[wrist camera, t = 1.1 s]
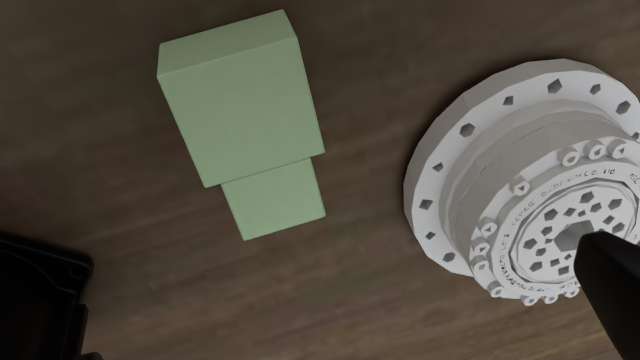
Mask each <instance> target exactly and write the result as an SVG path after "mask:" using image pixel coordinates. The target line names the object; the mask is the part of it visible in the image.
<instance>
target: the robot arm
mask: <svg viewBox="0 0 640 360" xmlns="http://www.w3.org/2000/svg"><path fill="white" fill-rule="evenodd" d="M76 267H79V268H83V270H77V269H75V268H76ZM93 268H94V263H93V261H92V260H91V259H90V258H88V257H86V256H83V255H79V254H76V253H72V252H69V251H65V250H61V249H58V248H54V247H50V246H47V245H43V244H40V243H36V242H32V241H29V240H25V239H21V238H18V237H14V236H10V235H7V234H3V233H0V360H103V358H102V356H101V355H100V354H99V353H97V352H91V353H87V354H83V355H81V350H82V345H83V339H84V334H85V328H86V323H87V317H88V312H89V310H88V308H87V307H86V305H85V304H81V303H78V301H79V299H80V297H81V295H82V293H83V291H84V290H85V288H86V286H87V284H88V282H89V280H90V278H91V277H92V273H93ZM573 269H574V273H575V276H576V278H577V280H578V282H579V284H580V285H581V287H582V289H583V291H584V293H585V295H586V296H587V298H588V300H589V302H590V304H591V306H592V307H593V309H594V311H595V313H596V315H597V316H598V318H599V320H600V322H601V324H602V326H603V327H604V329H605V331H606V333H607V335H608V336H609V338H610V340H611V341H612V343H613V345H614V346H615V348H616V349H617V351H618V352H619V354H620V356H621V357H622V359H623V360H640V246H638V245H636V244H633V243H631V242H629V241H627V240H625V239H623V238H620V237H618V236H616V235H614V234H612V233H610V232H607V231H604V230H599V231H594V232H590V233H586V234H583V235H582V236H581V237H580V239H579V242H578V246H577V250H576V255H575V259H574V263H573Z"/></svg>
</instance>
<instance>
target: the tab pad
mask: <svg viewBox="0 0 640 360" xmlns="http://www.w3.org/2000/svg"><path fill="white" fill-rule="evenodd" d="M157 79H158V81H159V84H160V86H161V88H162V91H163V93H164V95H165V98H166V100H167V102H168V104H169V107H170V109H171V111H172V114H173V116H174V118H175V121H176V123H177V125H178V128H179V130H180V132H181V134H182V137H183V139H184V141H185V144H186V146H187V148H188V151H189V153H190V155H191V157H192V160H193V162H194V164H195V167H196V169H197V171H198V174H199V176H200V178H201V181H202V183H203V185H204V187H205V188H207V187H210V186H214V185H217V184H221V187H222V189H223V192H224V194H225V197H226V199H227V202H228V204H229V207H230V209H231V211H232V214H233V216H234V219H235V221H236V224H237V226H238V229H239V231H240V233H241V236H242V238H243V240H244V241H246V240H249V239H253V238H256V237H259V236H263V235H266V234H269V233H272V232H276V231H279V230H282V229H286V228H289V227H292V226H296V225H299V224H302V223H306V222H309V221H312V220H316V219H319V218H322V217H325V215H326V213H325V210H324V206H323V202H322V198H321V195H320V191H319V187H318V184H317V180H316V176H315V172H314V169H313V165H312V161H311V158H310V157H312V156H315V155H318V154H322V153H324V152H325V149H324V145H323V141H322V137H321V133H320V129H319V125H318V120H317V116H316V112H315V108H314V104H313V100H312V96H311V92H310V88H309V84H308V80H307V76H306V72H305V68H304V63H303V59H302V55H301V51H300V47H299V43H298V39H297V36H296V34H295V32H294V30H293V28H292V26H291V24H290V22H289V20H288V18H287V16H286V14H285V11H284V10H283V9H281V10H277V11H274V12H270V13H267V14H263V15H260V16H256V17H253V18H249V19H246V20H242V21H238V22H235V23H231V24H228V25H224V26H221V27H217V28H214V29H210V30H207V31H203V32H200V33H196V34H193V35H189V36H185V37H182V38H178V39H175V40H171V41H168V42H164V43H161V44H160V47H159V58H158V69H157Z"/></svg>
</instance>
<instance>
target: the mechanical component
mask: <svg viewBox="0 0 640 360" xmlns="http://www.w3.org/2000/svg"><path fill="white" fill-rule="evenodd" d="M403 187H404V213H405V215H406V217H407V219H408V222H409V224H410V226H411V229H412V231H413V233H414V235H415V236H416V238H417V240H418V241H419V243H420V245H421V246H422V248H423V250H424V251H425V253H426V255H427V256H428V257H429V258H431V259H432V260H434V261H435V262H437V263H438V264H440V265H441V266H443V267H444V268H446V269H447V270H449V271H450V272H453V273H458V274H463V275H467V276H472V277H474V278H475V280H476V281H477V282H478V283H479V284H480V285H481V286H482V287H483V288H484V289H486V290H488V291H489V293H490V295H491V297H499V296H501V297H503V298H514V299H520V300H521V301H522V302H523V303H524V305H527V306H530V305H533V304H534V303H535V302H537V299H540V298H542V299H543V301H544V302H545V303H552V302H554V301H556V299H557V298H558V294H562V293H563V294H564V295H565V296H566V297H570V298H571V297H573V296H575V295H577V293H578V292H579V288H578V287H579V286H581V285H580V284H579V282H578V280H577V278H576V276H575V273H574V269H573V263H574V259H575V255H576V250H577V246H578V242H579V239H580V237H581V236H582V235H583V234H586V233H590V232H594V231H599V230H604V231H607V232H610V233H612V234H614V235H616V236H618V237H620V238H623V239H625V240H627V241H629V242H631V243H633V244H637V242H638V241H639V240H640V103H639V101H638V99H637V97H636V96H635V95H634V94H633V93H632V92H631V91H630V90H629V89H628V88H627V87H626V86H624V85H623V84H622V83H621V82H619V81H617V80H616V79H614V78H613V77H611V76H609V75H608V74H606V73H605V72H603V71H601V70H600V69H598V68H596V67H595V66H593V65H590V64H585V63H581V62H577V61H573V60H569V59H554V60H543V61H532V62H526V63H523V64H520V65H518V66H515V67H512V68H510V69H507V70H504V71H501V72H499V73H496V74H493V75H492V76H490V77H488V78H487V79H485V80H484V81H482V82H480V83H479V84H477V85H475V86H474V87H472V88H471V89H469V90H467V91H466V92H464V93H462V94H461V95H460V96H459V97H458V98H457V99H456V100H455V101H454V102H453V103H452V104H451V105H450V106H449V107H448V108H447V109H446V110H445V111H444V112H443V113H442V114H440V115H439V116H438V117H437V118H436V119H435V120H434V122H433V123H432V125H431V126H430V127H429V129H428V130H427V132H426V133H425V135H424V136H423V137H422V139H421V140H420V142H419V143H418V145H417V147H416V149H415V152H414V154H413V156H412V158H411V160H410V162H409V165H408V168H407V172H406V176H405V180H404V184H403Z"/></svg>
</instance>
